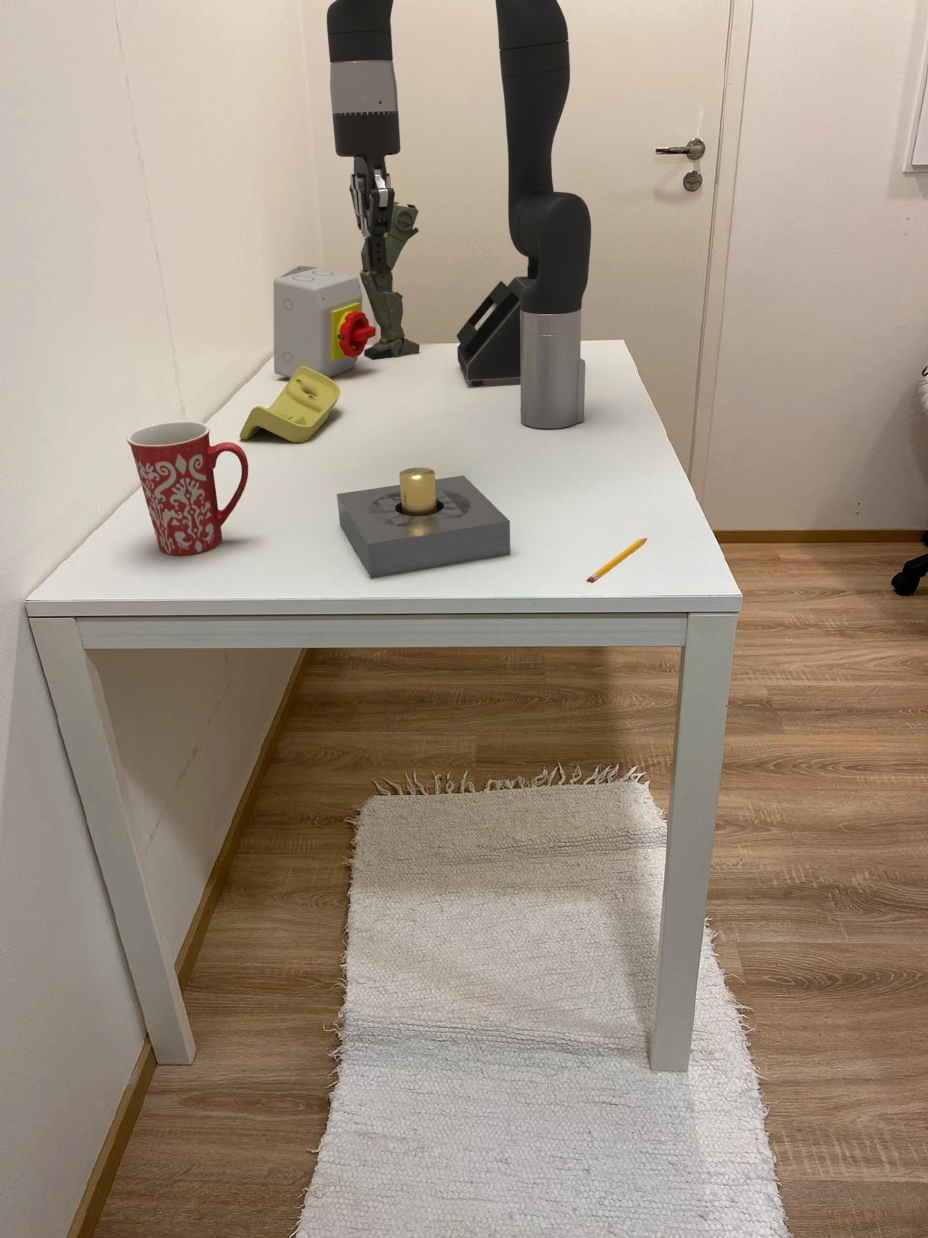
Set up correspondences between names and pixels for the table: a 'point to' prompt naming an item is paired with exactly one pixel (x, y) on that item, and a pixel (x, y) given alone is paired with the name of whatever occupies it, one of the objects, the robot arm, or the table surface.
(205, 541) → the mug
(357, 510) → the jig
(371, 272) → the mechanical leg
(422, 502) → the brass peg
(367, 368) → the table surface
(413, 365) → the table surface
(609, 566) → the pencil
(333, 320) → the electrical switch box
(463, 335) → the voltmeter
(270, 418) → the plastic component
